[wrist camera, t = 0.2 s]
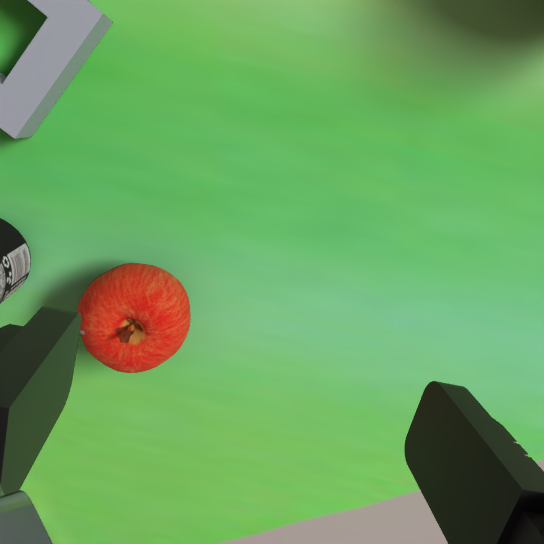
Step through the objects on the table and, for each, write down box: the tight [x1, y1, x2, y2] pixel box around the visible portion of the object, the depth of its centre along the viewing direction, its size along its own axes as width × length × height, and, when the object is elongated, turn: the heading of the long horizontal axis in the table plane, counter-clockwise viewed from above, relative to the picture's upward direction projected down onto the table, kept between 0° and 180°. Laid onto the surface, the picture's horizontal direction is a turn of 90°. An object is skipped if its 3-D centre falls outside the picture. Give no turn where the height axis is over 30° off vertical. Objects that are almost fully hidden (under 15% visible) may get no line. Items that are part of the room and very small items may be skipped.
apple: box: [77, 263, 190, 373], centre depth 36 cm, size 8×8×8 cm
